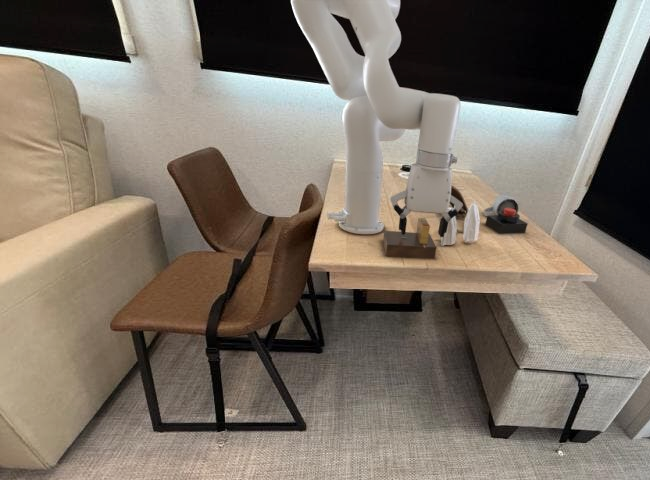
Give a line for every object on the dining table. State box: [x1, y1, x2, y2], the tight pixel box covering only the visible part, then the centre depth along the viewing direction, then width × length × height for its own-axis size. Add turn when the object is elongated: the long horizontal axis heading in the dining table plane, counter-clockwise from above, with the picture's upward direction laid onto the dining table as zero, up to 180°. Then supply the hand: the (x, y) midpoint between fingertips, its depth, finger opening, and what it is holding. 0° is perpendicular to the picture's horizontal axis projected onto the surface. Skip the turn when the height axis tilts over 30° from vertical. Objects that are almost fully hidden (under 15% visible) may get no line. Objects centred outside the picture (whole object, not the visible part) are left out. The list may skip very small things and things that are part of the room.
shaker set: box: [440, 202, 481, 247], centre depth 88 cm, size 12×4×11 cm, turn 107°
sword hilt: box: [439, 184, 469, 233], centre depth 101 cm, size 10×24×15 cm
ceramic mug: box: [483, 194, 520, 217], centre depth 115 cm, size 11×8×8 cm
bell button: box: [503, 208, 516, 216], centre depth 103 cm, size 4×4×2 cm
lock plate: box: [382, 230, 441, 260], centre depth 82 cm, size 14×10×3 cm
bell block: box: [484, 211, 529, 235], centre depth 105 cm, size 10×8×5 cm
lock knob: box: [415, 217, 431, 244], centre depth 80 cm, size 6×2×5 cm, turn 6°
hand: (421, 234), depth 81 cm, fingers open, 9 cm apart
